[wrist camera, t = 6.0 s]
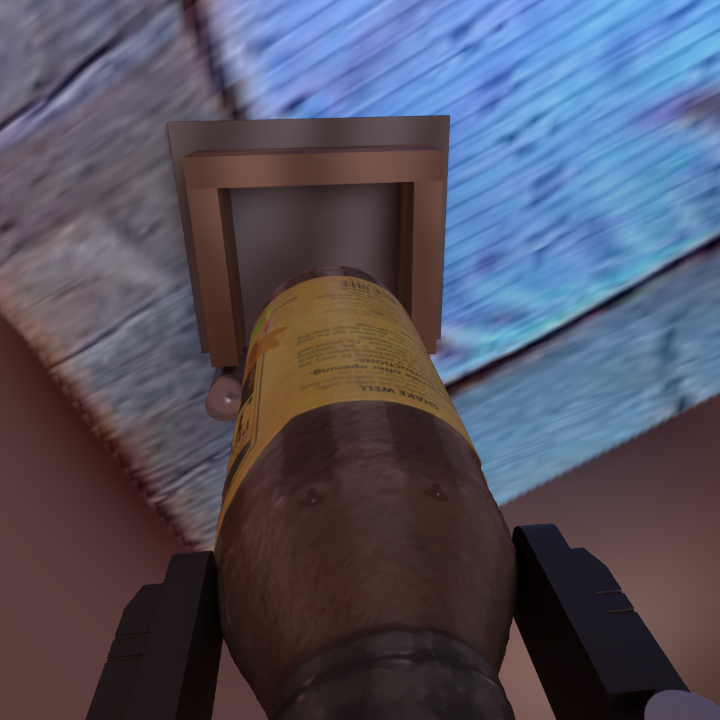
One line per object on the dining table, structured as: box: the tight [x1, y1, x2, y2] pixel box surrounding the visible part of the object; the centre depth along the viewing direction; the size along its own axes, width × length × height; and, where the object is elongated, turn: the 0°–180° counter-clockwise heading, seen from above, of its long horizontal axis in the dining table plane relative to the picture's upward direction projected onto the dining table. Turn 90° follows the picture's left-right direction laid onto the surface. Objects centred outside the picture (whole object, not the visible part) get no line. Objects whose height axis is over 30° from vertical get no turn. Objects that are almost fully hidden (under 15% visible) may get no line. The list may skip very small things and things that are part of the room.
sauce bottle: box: [214, 266, 518, 720], centre depth 14 cm, size 6×6×20 cm
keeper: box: [206, 345, 248, 421], centre depth 37 cm, size 19×2×6 cm, turn 41°
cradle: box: [167, 115, 450, 367], centre depth 33 cm, size 16×14×6 cm
